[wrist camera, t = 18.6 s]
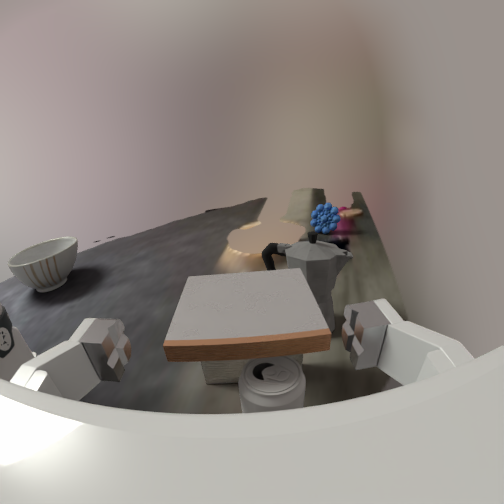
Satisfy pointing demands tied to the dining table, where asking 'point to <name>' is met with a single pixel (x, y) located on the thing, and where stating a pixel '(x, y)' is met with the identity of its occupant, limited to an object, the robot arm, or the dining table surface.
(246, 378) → the beverage can
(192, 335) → the wood-edged grey shelf
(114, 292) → the dining table surface
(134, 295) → the dining table surface
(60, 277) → the decorative bowl
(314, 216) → the blue bumpy cluster
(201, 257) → the dining table surface
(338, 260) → the coffeepot
